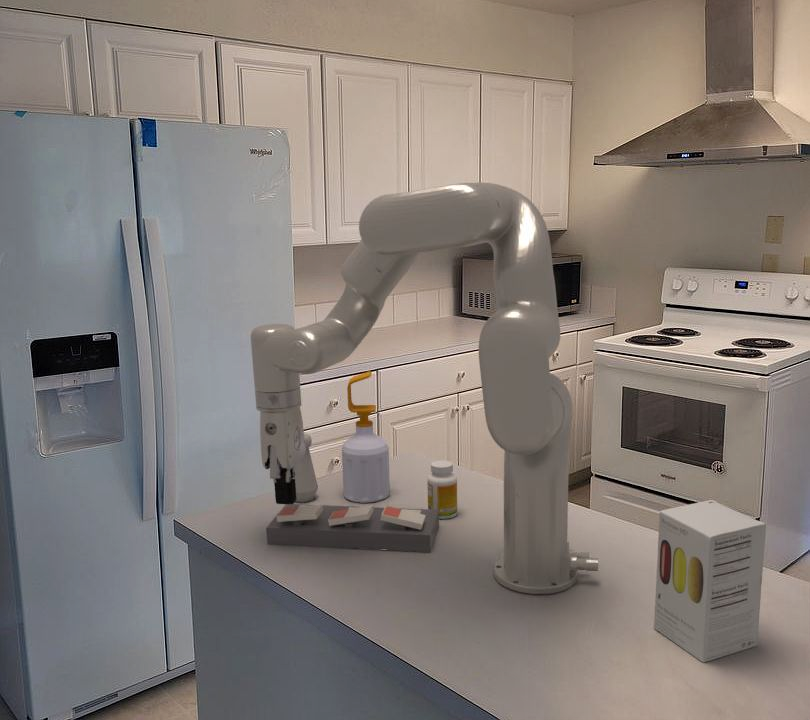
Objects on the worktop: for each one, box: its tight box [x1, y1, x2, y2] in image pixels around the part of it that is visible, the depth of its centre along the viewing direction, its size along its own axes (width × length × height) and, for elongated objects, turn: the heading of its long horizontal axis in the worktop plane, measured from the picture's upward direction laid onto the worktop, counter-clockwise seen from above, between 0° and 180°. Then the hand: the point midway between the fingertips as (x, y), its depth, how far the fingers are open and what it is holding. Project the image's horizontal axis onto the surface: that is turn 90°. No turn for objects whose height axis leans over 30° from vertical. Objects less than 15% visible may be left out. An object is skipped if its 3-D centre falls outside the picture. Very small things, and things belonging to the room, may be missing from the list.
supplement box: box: [653, 499, 767, 663], centre depth 104 cm, size 10×9×17 cm
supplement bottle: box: [427, 460, 458, 520], centre depth 148 cm, size 5×5×10 cm
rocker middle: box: [328, 504, 374, 526], centre depth 138 cm, size 7×4×1 cm, turn 80°
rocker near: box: [380, 505, 426, 530], centre depth 136 cm, size 7×4×1 cm, turn 81°
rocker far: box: [275, 504, 323, 522], centre depth 139 cm, size 7×4×1 cm, turn 80°
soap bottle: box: [341, 370, 391, 504], centre depth 157 cm, size 9×9×25 cm
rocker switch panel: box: [265, 503, 440, 553], centre depth 140 cm, size 28×11×4 cm, turn 80°
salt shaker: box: [292, 432, 319, 503], centre depth 157 cm, size 6×6×13 cm
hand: (286, 502), depth 139 cm, fingers closed
